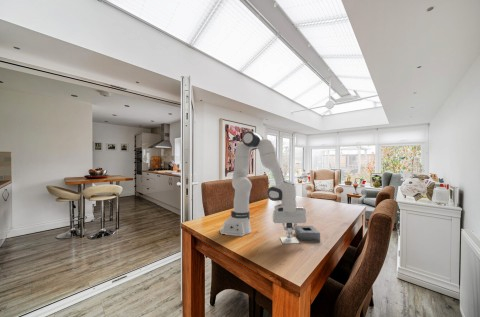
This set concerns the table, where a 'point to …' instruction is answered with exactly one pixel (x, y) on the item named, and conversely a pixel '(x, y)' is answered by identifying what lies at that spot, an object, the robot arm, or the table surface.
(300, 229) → the block
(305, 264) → the table surface
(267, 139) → the robot arm
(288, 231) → the chuck key
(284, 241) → the set down mat
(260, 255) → the table surface
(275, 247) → the table surface
